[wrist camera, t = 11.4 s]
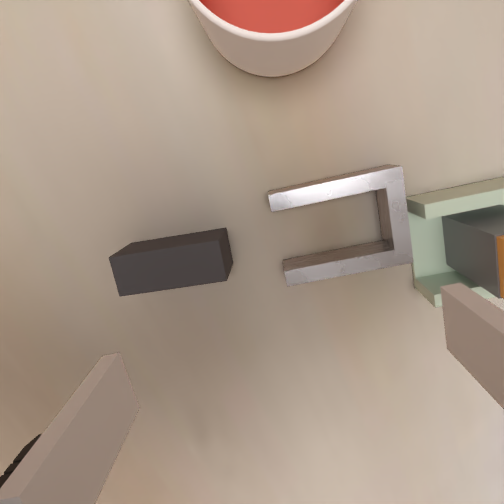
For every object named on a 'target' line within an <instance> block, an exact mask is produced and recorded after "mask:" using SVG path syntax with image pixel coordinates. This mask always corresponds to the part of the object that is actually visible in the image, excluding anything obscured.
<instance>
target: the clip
mask: <svg viewBox="0 0 504 504" xmlns="http://www.w3.org/2000/svg"><path fill="white" fill-rule="evenodd" d="M372 190H376V197H377V204H378V211H379V218H380V225H381V233H382V240H381V241H376V242H371V243H366V244H361V245H356V246H351V247H346V248H340V249H335V250H330V251H325V252H320V253H315V254H310V255H305V256H300V257H295V258H290V259H285V260H283V265H284V273H285V278H286V283H287V286H292V285H297V284H303V283H308V282H313V281H318V280H324V279H329V278H334V277H339V276H345V275H350V274H355V273H360V272H366V271H371V270H376V269H382V268H387V267H392V266H397V265H403V264H408V263H413V262H414V261H413V253H412V244H411V236H410V228H409V219H408V211H407V202H406V194H405V186H404V177H403V169H402V166H397V165H384V166H380V167H375V168H371V169H366V170H361V171H357V172H352V173H348V174H343V175H339V176H334V177H330V178H325V179H321V180H316V181H311V182H307V183H302V184H298V185H293V186H289V187H284V188H280V189H275V190H270V191H268V197H269V202H270V207H271V212H274V211H279V210H283V209H288V208H293V207H297V206H302V205H307V204H312V203H316V202H321V201H326V200H330V199H335V198H340V197H344V196H349V195H354V194H358V193H363V192H368V191H372Z"/></svg>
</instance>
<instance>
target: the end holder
mask: <svg viewBox="0 0 504 504" xmlns="http://www.w3.org/2000/svg"><path fill="white" fill-rule="evenodd" d="M406 202H407V211H408V219H409V228H410V236H411V244H412V253H413V261H414V262H413V263H412V270H413V278H414V286H415V289H416V290H417V291H419V292H420V293H421V294H422V295H423V296H424V297H425V298H426V299H427V300H428V301H429V302H430V303H431V304H432V305H433V306H434V307H435V308H437V307H442V298H441V289H440V287H441V286H445V285H450V284H455V283H460V282H461V283H462V284H464V285H465V286H467V287H468V288H470V289H471V290H473V291H474V292H476V293H477V294H479V295H480V296H482V297H483V298H485V299H489V298H494V297H496V296H494V295H493V294H491V293H490V292H488V291H487V290H485V289H484V288H482V287H480V286H479V285H477V284H476V283H474V282H473V281H471V280H470V279H468V278H467V277H465V276H464V275H462V274H460V273H459V272H457V271H456V270H454V269H453V268H451V267H450V266H448V265H447V264H446V255H445V245H444V236H443V226H442V217H441V216H446V215H451V214H456V213H460V212H465V211H470V210H475V209H480V208H485V207H490V206H495V205H504V177H500V178H495V179H490V180H485V181H481V182H476V183H471V184H466V185H461V186H457V187H452V188H447V189H442V190H438V191H433V192H428V193H423V194H418V195H414V196H409V197H406Z"/></svg>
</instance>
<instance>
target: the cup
mask: <svg viewBox="0 0 504 504" xmlns="http://www.w3.org/2000/svg"><path fill="white" fill-rule="evenodd" d="M357 1H358V0H188V2H189V3H190V5H191V7H192V9H193V10H194V12H195V14H196V16H197V18H198V19H199V21H200V23H201V25H202V26H203V28H204V30H205V32H206V33H207V35H208V37H209V39H210V40H211V42H212V43H213V45H214V46H215V48H216V49H217V50H218V51H219V52H220V54H221V55H222V56H223V57H224V58H225V59H227V60H228V61H229V62H230V63H232V64H233V65H235V66H236V67H238V68H240V69H242V70H244V71H246V72H248V73H251V74H254V75H259V76H266V77H278V76H284V75H289V74H292V73H295V72H298V71H300V70H302V69H304V68H306V67H308V66H309V65H311V64H312V63H314V62H315V61H316V60H318V59H319V58H320V57H321V56H322V55H323V54H324V53H325V52H326V51H327V50H328V49H329V48H330V46H331V45H332V44H333V42H334V41H335V39H336V38H337V36H338V35H339V33H340V31H341V29H342V28H343V26H344V24H345V22H346V20H347V19H348V17H349V15H350V13H351V12H352V10H353V8H354V6H355V4H356V3H357Z"/></svg>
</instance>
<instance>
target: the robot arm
mask: <svg viewBox="0 0 504 504" xmlns="http://www.w3.org/2000/svg"><path fill="white" fill-rule="evenodd" d="M440 289H441V298H442V307H443V316H444V326H445V335H446V344H447V349H448V350H449V351H450V353H451V354H452V355H453V356H454V357H455V358H456V359H457V360H458V361H459V362H460V363H461V364H462V365H463V366H464V367H465V369H466V370H467V371H468V372H469V373H470V374H471V375H472V376H473V377H474V378H475V379H476V380H477V381H478V382H479V383H480V384H481V386H482V387H483V388H484V389H485V390H486V391H487V392H488V393H489V394H490V395H491V396H492V397H493V398H494V399H495V400H496V401H497V403H498V404H499V405H500V406H501V407H502V408H503V409H504V311H503V310H501V309H500V308H498V307H497V306H495V305H494V304H492V303H491V302H489V301H488V300H486V299H485V298H483V297H482V296H480V295H479V294H477V293H476V292H474V291H473V290H471V289H470V288H468V287H467V286H465V285H464V284H462V283H461V282H460V283H455V284H450V285H445V286H441V287H440ZM139 408H140V407H139V404H138V401H137V398H136V396H135V393H134V390H133V388H132V385H131V382H130V379H129V377H128V374H127V371H126V368H125V366H124V363H123V360H122V358H121V355H120V352H118V353H114V354H109V355H104V356H102V357H101V358H100V359H99V361H98V362H97V363H96V365H95V366H94V367H93V368H92V370H91V371H90V372H89V374H88V375H87V376H86V378H85V379H84V380H83V381H82V383H81V384H80V385H79V387H78V388H77V389H76V391H75V392H74V393H73V394H72V396H71V397H70V398H69V400H68V401H67V402H66V404H65V405H64V406H63V407H62V409H61V410H60V411H59V413H58V414H57V415H56V417H55V418H54V419H53V420H52V422H51V423H50V424H49V426H48V427H47V428H46V430H45V431H44V432H43V433H42V434H39V435H38V436H37V437H36V438H34V439H33V440H32V441H31V442H30V443H29V444H27V445H26V446H25V447H24V448H23V449H22V450H21V452H20V453H19V454H18V456H17V457H16V458H15V459H14V461H13V464H10V466H9V467H8V468H7V469H6V471H5V472H4V475H2V476H1V477H0V504H95V502H96V500H97V498H98V496H99V494H100V492H101V490H102V488H103V485H104V483H105V481H106V479H107V477H108V475H109V473H110V470H111V468H112V466H113V464H114V462H115V460H116V458H117V455H118V453H119V451H120V449H121V447H122V445H123V443H124V440H125V438H126V436H127V434H128V432H129V430H130V428H131V426H132V423H133V421H134V419H135V417H136V415H137V413H138V411H139Z"/></svg>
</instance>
